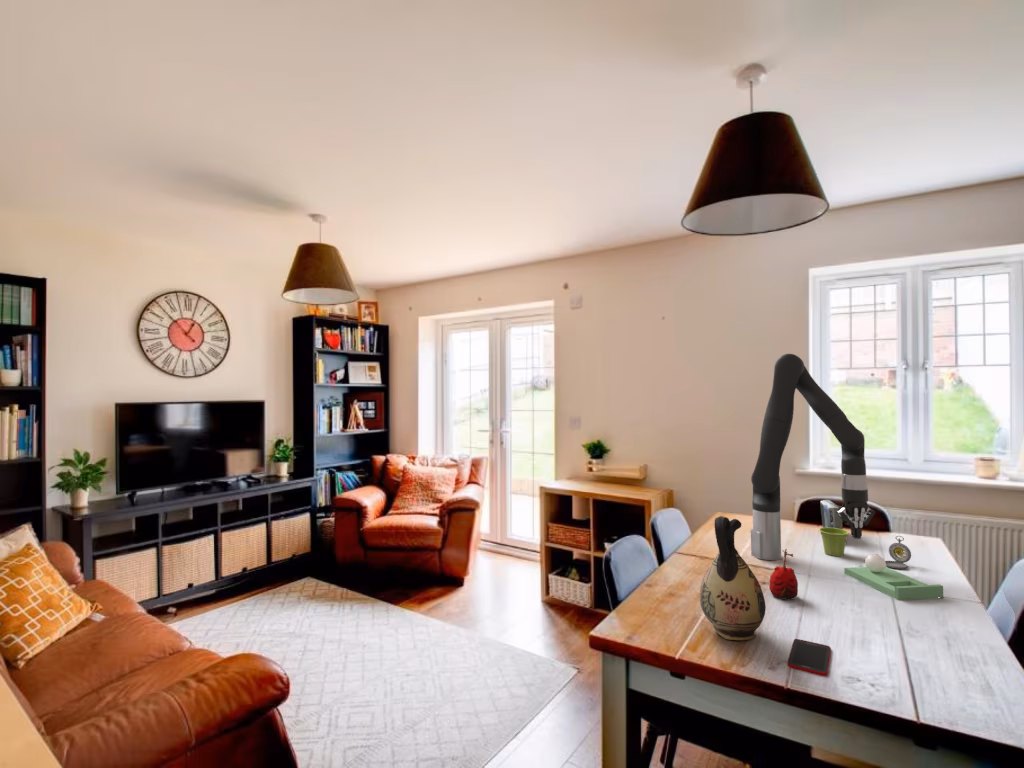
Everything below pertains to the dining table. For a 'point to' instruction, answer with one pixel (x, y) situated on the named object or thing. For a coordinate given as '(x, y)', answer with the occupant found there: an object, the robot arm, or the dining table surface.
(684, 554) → the dining table surface
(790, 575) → the red clay folk toy
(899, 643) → the dining table surface
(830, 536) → the plant pot
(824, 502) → the radio
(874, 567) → the ball
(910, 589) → the green
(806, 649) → the cell phone
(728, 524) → the ceramic jug
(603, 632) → the dining table surface
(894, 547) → the pocket watch
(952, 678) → the dining table surface
